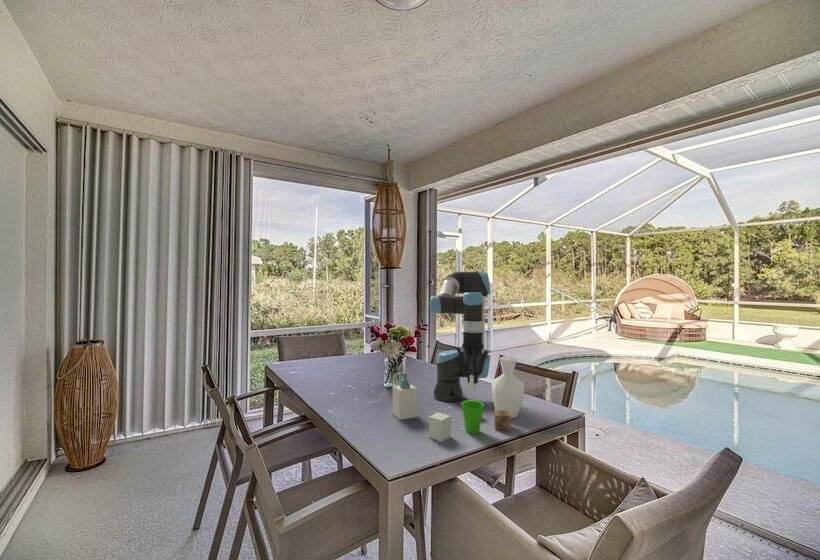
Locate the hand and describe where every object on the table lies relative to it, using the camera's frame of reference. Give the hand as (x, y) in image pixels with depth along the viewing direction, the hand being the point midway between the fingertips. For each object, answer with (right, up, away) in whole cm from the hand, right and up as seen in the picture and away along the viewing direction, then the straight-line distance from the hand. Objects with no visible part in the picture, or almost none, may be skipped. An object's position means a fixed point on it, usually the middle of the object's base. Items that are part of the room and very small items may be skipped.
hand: (472, 391), depth 145 cm
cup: (0, -16, 0) cm, 16 cm away
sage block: (-13, -16, -5) cm, 21 cm away
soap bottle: (-27, -16, +17) cm, 36 cm away
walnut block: (+13, -16, +4) cm, 21 cm away
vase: (+19, -16, +18) cm, 31 cm away
